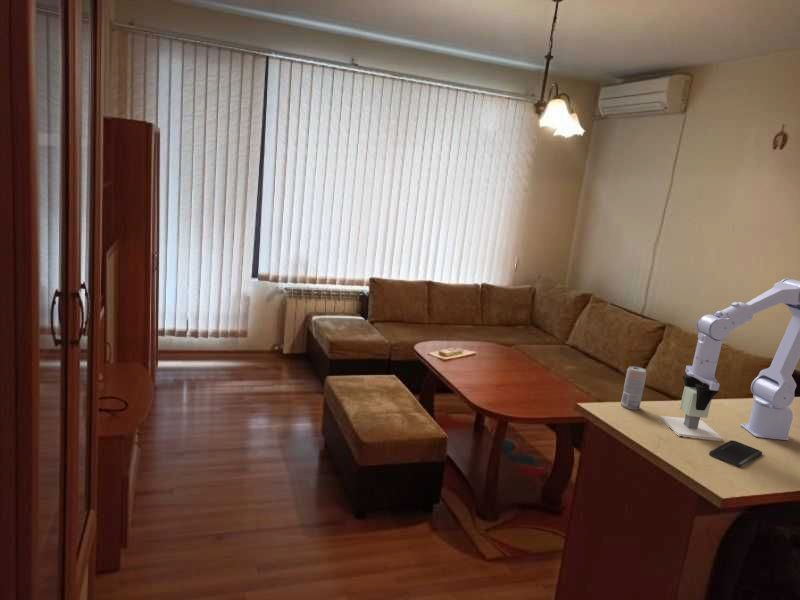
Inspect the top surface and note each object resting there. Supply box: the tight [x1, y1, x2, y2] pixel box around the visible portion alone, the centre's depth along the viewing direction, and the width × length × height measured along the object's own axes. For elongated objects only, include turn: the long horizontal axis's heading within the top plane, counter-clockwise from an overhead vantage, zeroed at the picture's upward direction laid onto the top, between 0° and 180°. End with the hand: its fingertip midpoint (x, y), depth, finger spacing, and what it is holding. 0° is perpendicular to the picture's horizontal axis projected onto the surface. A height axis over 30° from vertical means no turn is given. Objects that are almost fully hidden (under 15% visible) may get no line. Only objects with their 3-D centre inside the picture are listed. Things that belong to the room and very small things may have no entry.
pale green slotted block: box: [679, 385, 713, 419], centre depth 160 cm, size 5×5×7 cm
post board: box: [659, 413, 724, 442], centre depth 161 cm, size 12×12×5 cm
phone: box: [708, 440, 763, 469], centre depth 148 cm, size 8×1×15 cm
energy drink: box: [620, 365, 647, 411], centre depth 173 cm, size 5×5×12 cm
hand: (695, 405), depth 160 cm, fingers closed on pale green slotted block, 5 cm apart
